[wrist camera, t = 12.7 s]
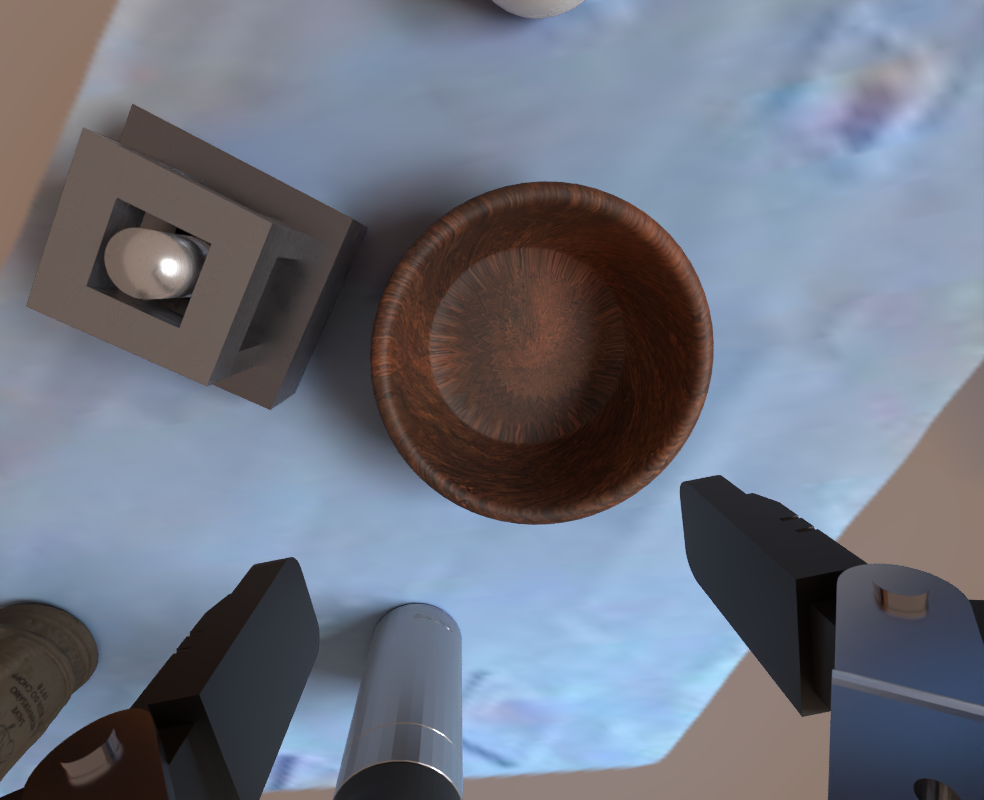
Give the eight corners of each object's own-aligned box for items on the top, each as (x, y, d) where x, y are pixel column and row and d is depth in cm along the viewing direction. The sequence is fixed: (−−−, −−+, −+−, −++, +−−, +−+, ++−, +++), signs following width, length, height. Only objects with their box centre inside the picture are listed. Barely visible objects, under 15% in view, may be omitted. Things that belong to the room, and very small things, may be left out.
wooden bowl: (363, 445, 47) (337, 489, 37) (423, 166, 42) (411, 130, 32) (614, 500, 50) (652, 555, 40) (698, 247, 45) (767, 237, 35)
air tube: (257, 303, 43) (165, 313, 30) (209, 280, 42) (92, 280, 29) (275, 258, 42) (190, 248, 29) (227, 234, 42) (116, 211, 28)
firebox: (294, 393, 45) (230, 436, 32) (115, 312, 43) (-30, 324, 30) (367, 227, 42) (328, 204, 30) (180, 129, 40) (50, 58, 27)
